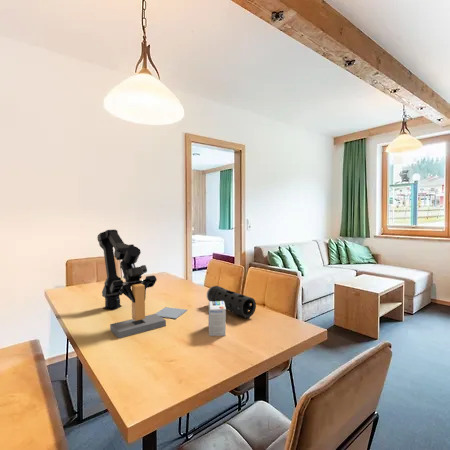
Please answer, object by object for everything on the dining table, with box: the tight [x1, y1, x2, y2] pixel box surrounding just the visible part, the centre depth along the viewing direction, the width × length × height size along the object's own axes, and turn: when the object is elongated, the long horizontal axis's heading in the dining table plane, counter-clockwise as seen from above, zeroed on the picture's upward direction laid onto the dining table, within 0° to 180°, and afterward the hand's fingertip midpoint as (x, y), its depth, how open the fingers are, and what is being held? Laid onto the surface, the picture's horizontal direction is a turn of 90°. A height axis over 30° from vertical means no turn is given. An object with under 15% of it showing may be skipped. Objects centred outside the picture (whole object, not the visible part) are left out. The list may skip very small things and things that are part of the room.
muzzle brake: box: [206, 285, 257, 320], centre depth 141 cm, size 10×28×10 cm, turn 39°
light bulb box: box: [208, 300, 227, 337], centre depth 118 cm, size 11×7×11 cm, turn 5°
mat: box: [154, 306, 188, 320], centre depth 138 cm, size 12×12×1 cm
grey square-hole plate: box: [109, 313, 167, 339], centre depth 120 cm, size 10×20×2 cm, turn 129°
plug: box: [131, 284, 146, 321], centre depth 120 cm, size 4×4×14 cm
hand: (139, 301), depth 119 cm, fingers closed on plug, 4 cm apart
